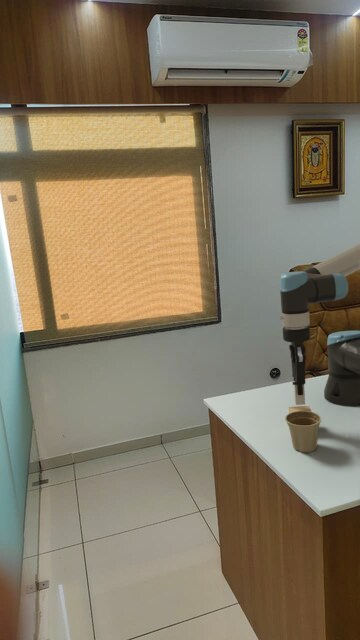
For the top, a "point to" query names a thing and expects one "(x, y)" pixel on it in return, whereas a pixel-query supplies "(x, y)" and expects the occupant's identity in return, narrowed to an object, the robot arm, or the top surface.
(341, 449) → the top surface
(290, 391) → the top surface
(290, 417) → the flower pot
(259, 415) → the top surface
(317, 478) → the top surface
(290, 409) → the tan cube
